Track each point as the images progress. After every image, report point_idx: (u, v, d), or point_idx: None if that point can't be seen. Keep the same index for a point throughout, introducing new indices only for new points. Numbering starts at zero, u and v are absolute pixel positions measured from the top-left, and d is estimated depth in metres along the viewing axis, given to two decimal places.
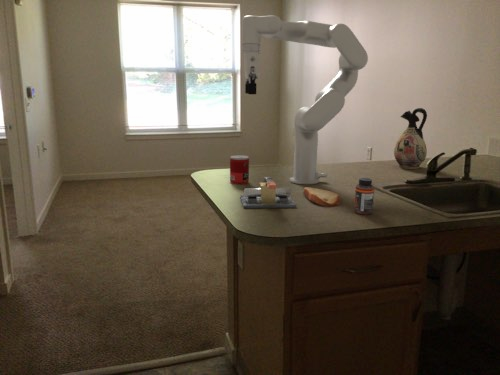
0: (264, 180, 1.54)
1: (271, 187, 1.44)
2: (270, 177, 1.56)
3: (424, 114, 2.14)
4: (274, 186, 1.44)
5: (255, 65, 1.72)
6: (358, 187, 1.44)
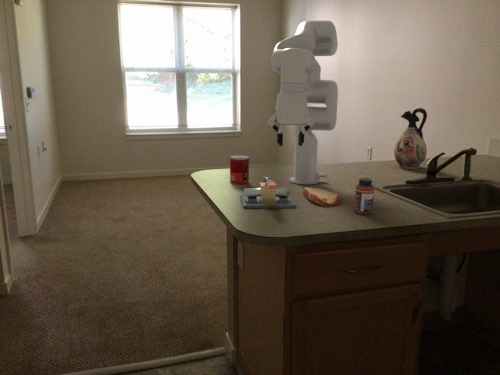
0: (264, 180, 1.54)
1: (271, 187, 1.44)
2: (270, 177, 1.56)
3: (424, 114, 2.14)
4: (274, 186, 1.44)
5: None
6: (358, 187, 1.44)
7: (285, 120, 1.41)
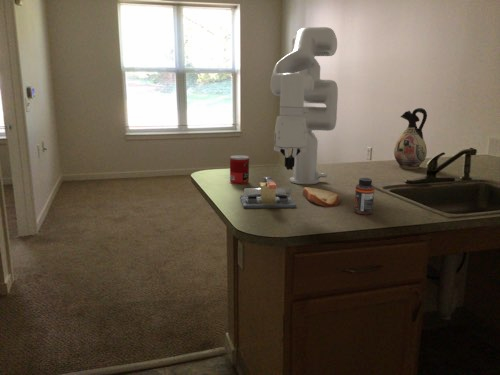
0: (264, 180, 1.54)
1: (271, 187, 1.44)
2: (270, 177, 1.56)
3: (424, 114, 2.14)
4: (274, 186, 1.44)
5: None
6: (358, 187, 1.44)
7: (284, 143, 1.42)
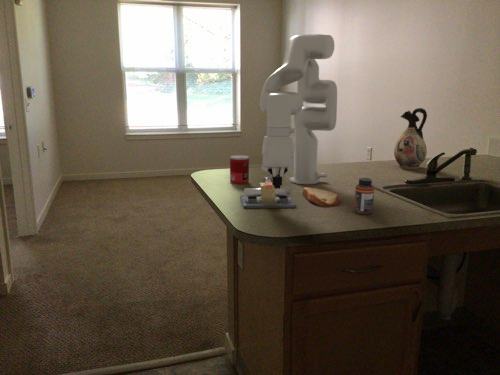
0: (264, 180, 1.55)
1: (267, 187, 1.44)
2: (270, 177, 1.56)
3: (424, 114, 2.14)
4: (270, 186, 1.44)
5: None
6: (358, 187, 1.44)
7: (271, 163, 1.43)
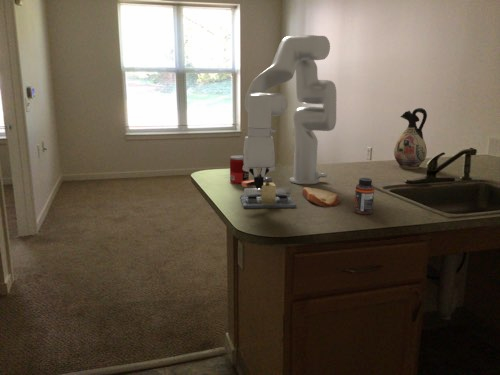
0: None
1: (243, 184, 1.48)
2: (271, 178, 1.55)
3: (424, 114, 2.14)
4: (245, 184, 1.47)
5: (273, 151, 1.47)
6: (358, 187, 1.44)
7: (252, 163, 1.44)
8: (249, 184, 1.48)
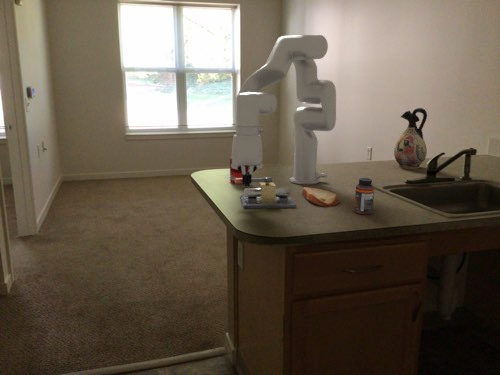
0: None
1: (235, 180, 1.53)
2: (270, 178, 1.54)
3: (424, 114, 2.14)
4: (235, 180, 1.52)
5: (261, 149, 1.50)
6: (358, 187, 1.44)
7: (240, 161, 1.47)
8: (240, 181, 1.52)
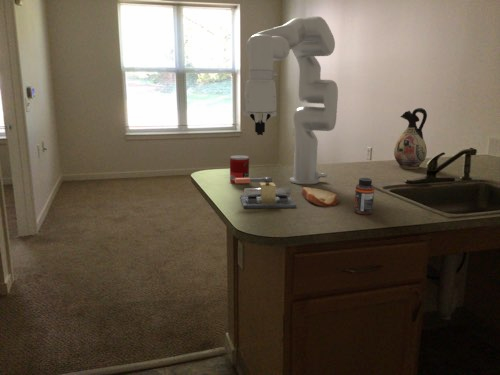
0: None
1: (235, 180, 1.53)
2: (270, 178, 1.54)
3: (424, 114, 2.14)
4: (235, 180, 1.52)
5: None
6: (358, 187, 1.44)
7: (253, 108, 1.40)
8: (240, 181, 1.52)
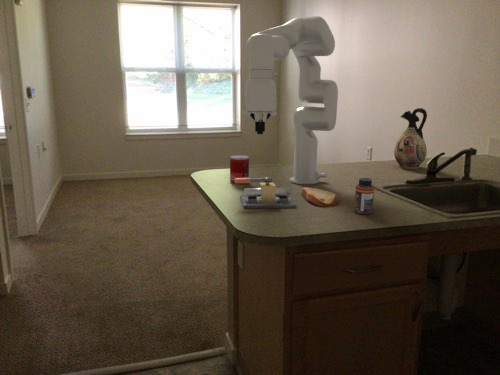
0: None
1: (235, 180, 1.53)
2: (270, 178, 1.54)
3: (424, 114, 2.14)
4: (235, 180, 1.52)
5: None
6: (358, 187, 1.44)
7: (254, 107, 1.40)
8: (240, 181, 1.52)
